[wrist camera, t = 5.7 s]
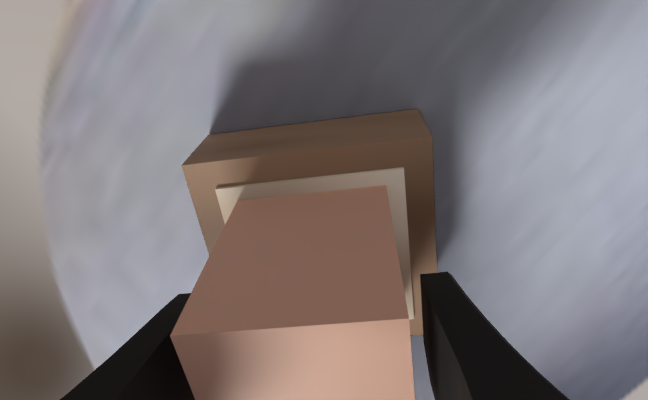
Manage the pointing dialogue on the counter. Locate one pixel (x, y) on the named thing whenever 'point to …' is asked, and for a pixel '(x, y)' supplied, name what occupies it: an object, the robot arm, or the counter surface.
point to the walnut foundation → (328, 178)
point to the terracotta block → (300, 303)
